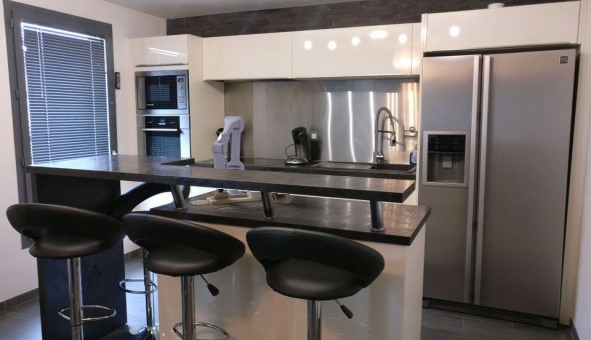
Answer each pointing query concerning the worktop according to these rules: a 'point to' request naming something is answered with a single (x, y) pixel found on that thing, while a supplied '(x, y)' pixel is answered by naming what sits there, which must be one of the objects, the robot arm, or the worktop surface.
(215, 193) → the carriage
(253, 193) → the gauge cabinet
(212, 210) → the worktop surface
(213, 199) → the rail board
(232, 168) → the robot arm
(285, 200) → the coffee box
